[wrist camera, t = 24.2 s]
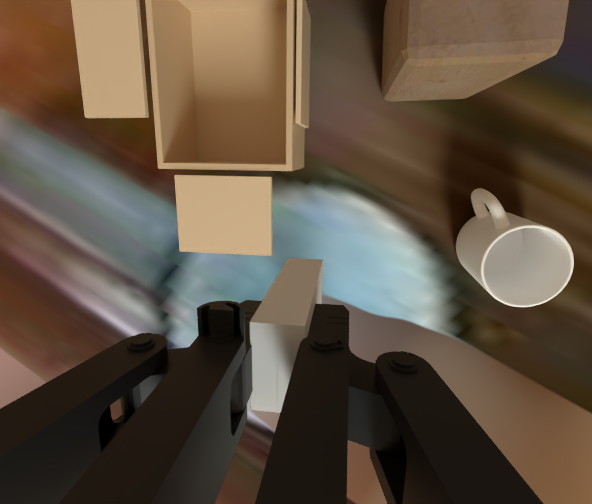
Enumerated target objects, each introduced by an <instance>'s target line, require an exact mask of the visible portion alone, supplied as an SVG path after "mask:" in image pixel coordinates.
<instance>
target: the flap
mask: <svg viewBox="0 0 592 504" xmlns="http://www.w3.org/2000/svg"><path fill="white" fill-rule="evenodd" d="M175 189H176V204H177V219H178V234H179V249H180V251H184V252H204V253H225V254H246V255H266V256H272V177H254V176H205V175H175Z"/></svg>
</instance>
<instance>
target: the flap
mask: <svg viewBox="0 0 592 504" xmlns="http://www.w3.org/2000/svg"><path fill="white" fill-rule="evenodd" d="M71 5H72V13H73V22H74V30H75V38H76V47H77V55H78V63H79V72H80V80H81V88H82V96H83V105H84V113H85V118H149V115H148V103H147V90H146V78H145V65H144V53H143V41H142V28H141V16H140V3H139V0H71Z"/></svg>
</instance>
